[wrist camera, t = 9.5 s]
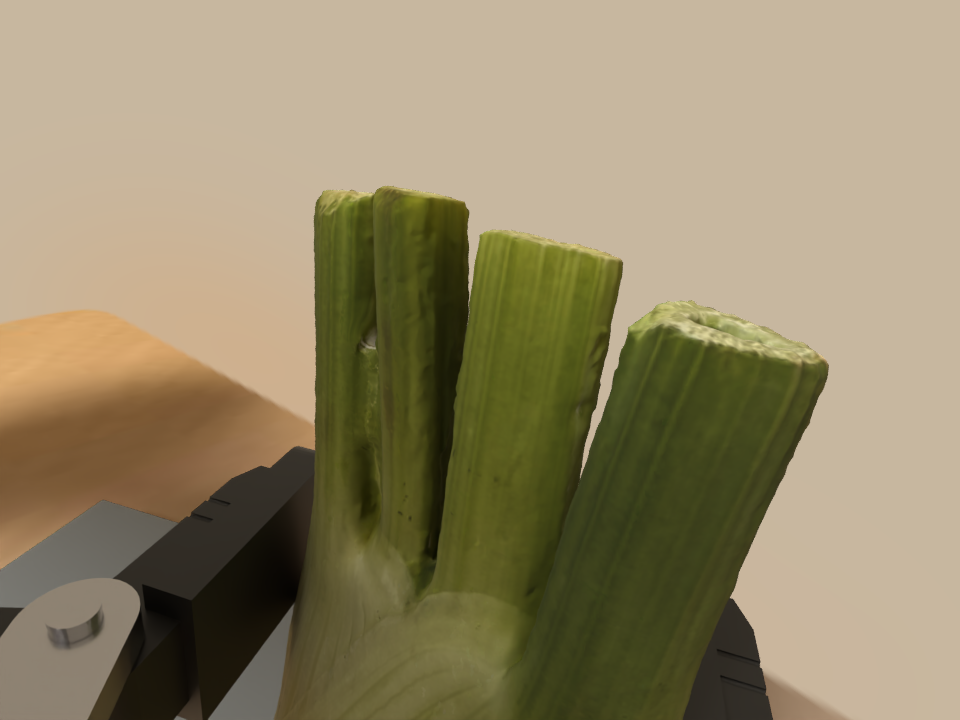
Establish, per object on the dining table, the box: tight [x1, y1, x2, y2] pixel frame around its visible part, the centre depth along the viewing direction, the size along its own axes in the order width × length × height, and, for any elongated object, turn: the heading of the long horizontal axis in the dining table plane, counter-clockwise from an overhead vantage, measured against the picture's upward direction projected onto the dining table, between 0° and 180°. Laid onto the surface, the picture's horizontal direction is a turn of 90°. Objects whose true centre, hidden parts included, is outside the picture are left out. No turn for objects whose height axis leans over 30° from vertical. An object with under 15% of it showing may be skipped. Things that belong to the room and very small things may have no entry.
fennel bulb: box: [274, 186, 829, 720], centre depth 8 cm, size 6×5×12 cm
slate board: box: [0, 500, 295, 720], centre depth 18 cm, size 14×14×2 cm
